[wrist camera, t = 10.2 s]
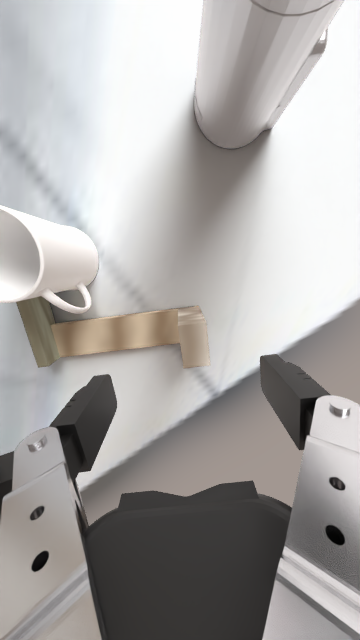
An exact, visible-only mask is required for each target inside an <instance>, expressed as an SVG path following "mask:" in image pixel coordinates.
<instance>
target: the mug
mask: <svg viewBox="0 0 360 640" xmlns="http://www.w3.org/2000/svg"><path fill="white" fill-rule="evenodd" d="M98 267H99V257H98V253H97V250H96V247H95V245H94V244H93V242H92V241H91V239H90V238H89V237H88V236H87V235H86V234H85V233H83V232H82V231H80V230H78V229H76V228H74V227H70V226H62V225H58V224H55V223H52V222H49V221H46V220H43V219H40V218H37V217H34V216H31V215H28V214H25V213H22V212H19V211H16V210H13V209H10V208H7V207H4V206H1V205H0V302H1V303H12V302H17V301H22V300H26V299H31V298H35V297H39V296H42V297H43V298H45V299H46V300H47V301H49V302H50V303H52V304H53V305H55V306H57V307H59V308H60V309H63V310H65V311H68V312H71V313H77V314H79V313H84V312H86V311H87V310H89V308H90V307H91V304H92V301H91V297H90V294H89V292H88V290H87V289H86V286H87V285H89V284H90V283H91V282H92V281H93V279H94V278H95V276H96V274H97V272H98ZM77 289H78V290H79V291H80V292H81V294H82V295H83V297H84V300H85V307H84V308H80V307H75V306H73V305H70V304H68V303H66V302H65V301H63V300H62V299H60V298H59V297H57V296H56V295H55V294H54V293H57V292H61V291H65V290H77Z"/></svg>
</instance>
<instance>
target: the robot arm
mask: <svg viewBox="0 0 360 640" xmlns="http://www.w3.org/2000/svg"><path fill="white" fill-rule="evenodd" d="M343 2H344V0H203V9H202V20H201V31H200V41H199V52H198V63H197V74H196V81H195V96H194V110H195V115H196V119H197V122H198V125H199V127H200V129H201V131H202V132H203V134H204V135H205V136H206V137H207V138H208V139H209V141H211V142H212V143H214V144H215V145H217V146H220V147H222V148H228V149H234V148H240V147H243V146H245V145H247V144H249V143H250V142H252V141H253V140H255V139H256V138H257V136H258V135H259V134H260V133H261V132H262V131H264V130H266V129H271V128H272V127H273V126H274V124H275V123H276V122H277V120H278V119H279V117H280V116H281V114H282V113H283V111H284V110H285V108H286V107H287V105H288V104H289V103H290V101H291V100H292V98H293V97H294V95H295V94H296V92H297V91H298V89H299V88H300V86H301V85H302V84H303V82H304V81H305V79H306V78H307V76H308V75H309V73H310V72H311V70H312V69H313V67H314V66H315V64H316V63H317V62H318V60H319V59H320V57H321V56H322V54H323V53H324V51H325V48H326V44H327V30H328V26H329V24H330V23H331V21H332V19H333V18H334V16H335V15H336V13H337V11H338V10H339V8H340V7H341V5H342V3H343ZM260 374H261V387H262V391H263V393H264V395H265V397H266V398H267V400H268V402H269V403H270V405H271V406H272V408H273V410H274V411H275V413H276V414H277V416H278V417H279V419H280V421H281V422H282V424H283V425H284V427H285V428H286V430H287V432H288V433H289V435H290V436H291V438H292V440H293V441H294V443H295V444H296V446H297V447H298V449H299V450H304V453H303V458H302V462H301V468H300V472H299V477H298V482H297V487H296V492H295V497H294V502H293V507H292V508H291V507H290V506H288V505H286V504H285V503H283V502H281V501H279V500H277V499H274V498H272V497H269V496H266V495H262V494H258V493H257V491H256V488H255V485H254V482H253V481H245V482H235V483H225V484H219V485H216V486H214V487H211V488H209V489H206V490H204V491H201V492H199V493H196V494H194V495H192V496H188V497H183V496H178V495H173V494H168V493H163V492H158V491H145V492H135V493H125V494H122V495H121V499H120V503H119V507H118V508H116V509H114V510H112V511H110V512H108V513H106V514H105V515H103V516H102V517H100V518H99V519H98V520H96V521H95V522H94V523H93V524H91V525H90V526H89V525H88V522H87V517H86V514H85V510H84V507H83V503H82V499H81V495H80V492H79V488H78V484H77V482H76V477H77V475H78V473H79V472H87V471H91V468H92V466H93V464H94V461H95V459H96V457H97V454H98V452H99V450H100V447H101V445H102V443H103V440H104V438H105V436H106V433H107V431H108V429H109V426H110V424H111V422H112V419H113V417H114V415H115V412H116V409H117V400H116V395H115V392H114V388H113V384H112V380H111V377H110V375H109V374H106V375H98V376H94V377H93V378H92V379H91V380H90V382H89V383H88V384H87V386H85V387H83V388H82V389H80V390H79V391H78V392H76V393H75V394H74V396H73V397H72V398H71V399H70V402H68V403H67V404H66V406H65V408H63V409H62V411H61V412H60V413H59V415H58V416H57V417H56V418H55V420H54V421H53V422H52V423H51V425H50V426H49V427H47V428H43V429H40V430H38V431H36V432H34V433H32V434H30V435H29V436H27V437H26V438H25V439H23V440H22V441H21V442H20V443H19V445H18V446H17V447H16V449H15V451H13V452H10V453H7V454H4V455H1V456H0V640H360V405H358V404H357V403H355V402H353V401H351V400H349V399H346V398H343V397H339V396H332V395H330V394H329V393H328V392H327V391H326V390H325V389H324V388H322V387H321V386H320V385H319V384H318V383H317V382H316V381H314V380H313V379H312V378H311V377H310V376H309V375H308V374H306V373H305V372H304V371H303V370H302V369H301V368H300V367H298V366H296V365H294V364H292V363H289V362H288V363H285V362H284V361H283V360H282V359H281V358H280V357H279V356H278V355H277V354H272V355H264V356H261V357H260Z"/></svg>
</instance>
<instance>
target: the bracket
mask: <svg viewBox="0 0 360 640" xmlns="http://www.w3.org/2000/svg"><path fill="white" fill-rule="evenodd" d="M16 303H17V306H18V309H19V312H20V315H21V318H22V321H23V324H24V327H25V330H26V333H27V336H28V339H29V342H30V345H31V347H32V350H33V353H34V356H35V359H36V362H37V365H38V367H46V366H50V365H51V364H52V363H54V362H55V361H56V360H57V359H59V358H60V357H67V356H76V355H84V354H92V353H101V352H109V351H118V350H126V349H134V348H143V347H151V346H160V345H168V344H176V343H180V345H181V353H182V360H183V368H192V367H200V366H209V365H210V356H209V345H208V335H207V324H206V321H205V318H204V316H203V314H202V312H201V310H200V308H199V306H192V307H184V308H176V309H168V310H159V311H151V312H143V313H135V314H127V315H119V316H111V317H103V318H95V319H87V320H79V321H71V322H63V323H55V320H54V317H53V313H52V310H51V307H50V303H49V301H47V300H46V299H45V298H43V297H42V296H39V297H35V298H31V299H26V300H22V301H17V302H16Z"/></svg>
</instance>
